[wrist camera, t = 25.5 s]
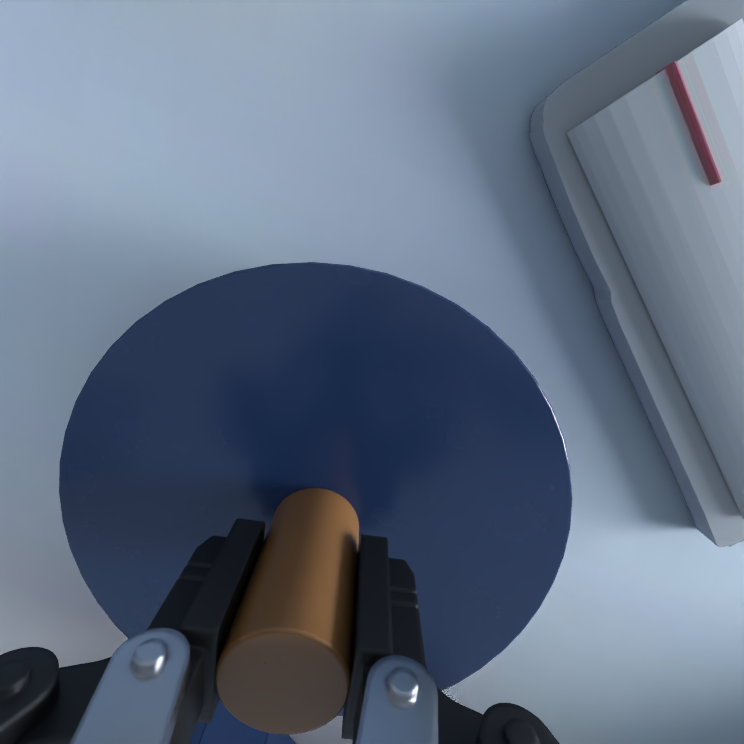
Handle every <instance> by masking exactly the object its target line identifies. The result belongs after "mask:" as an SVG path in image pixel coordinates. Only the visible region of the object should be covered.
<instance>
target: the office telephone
mask: <svg viewBox="0 0 744 744" xmlns="http://www.w3.org/2000/svg"><path fill="white" fill-rule="evenodd" d="M530 131H531V133H530V139H531V144H532V147H533V149H534V152H535V154H536V157H537V159H538V162H539V164H540V167H541V169H542V172H543V175H544V177H545V180H546V182H547V185H548V187H549V190H550V192H551V195H552V197H553V200H554V202H555V205H556V207H557V210H558V212H559V214H560V217H561V219H562V221H563V224H564V226H565V228H566V230H567V233H568V235H569V237H570V240H571V242H572V244H573V247H574V249H575V251H576V253H577V256H578V258H579V260H580V261H581V263H582V265H583V267H584V269H585V271H586V273H587V275H588V277H589V279H590V281H591V283H592V285H593V287H594V288H595V300H596V303H597V305H598V307H599V310H600V312H601V315H602V317H603V320H604V322H605V325H606V327H607V329H608V331H609V333H610V336H611V338H612V340H613V342H614V344H615V347H616V349H617V351H618V353H619V355H620V358H621V360H622V362H623V364H624V366H625V368H626V371H627V373H628V375H629V377H630V379H631V382H632V384H633V386H634V388H635V390H636V393H637V395H638V397H639V399H640V401H641V404H642V406H643V408H644V410H645V412H646V414H647V417H648V419H649V421H650V423H651V425H652V428H653V430H654V432H655V434H656V436H657V439H658V441H659V443H660V445H661V447H662V450H663V452H664V454H665V456H666V458H667V460H668V463H669V465H670V467H671V469H672V471H673V474H674V476H675V478H676V480H677V482H678V485H679V487H680V489H681V491H682V493H683V496H684V498H685V500H686V502H687V505H688V507H689V510H690V512H691V515H692V517H693V520H694V522H695V525H696V527H697V529H698V530H699V531H700V532H701V533H703V534H704V535H705V536H706V537H707V538H708V539H710V540H711V541H712V542H713V543H714V544H715V545H717V546H718V547H724V546H732V545H734V544H736V543H738V542H741V541H743V540H744V0H687V1H686V2H684V3H682V4H681V5H679V6H678V7H676V8H674V9H673V10H671V11H669V12H668V13H666V14H665V15H663V16H662V17H660V18H659V19H657V20H656V21H654V22H653V23H651V24H650V25H648V26H647V27H645V28H644V29H642V30H641V31H639V32H638V33H636V34H635V35H633V36H632V37H630V38H629V39H627V40H626V41H624V42H623V43H621V44H620V45H618V46H617V47H615V48H614V49H612V50H611V51H609V52H608V53H606V54H605V55H603V56H602V57H600V58H599V59H597V60H596V61H594V62H593V63H591V64H590V65H588V66H587V67H585V68H584V69H582V70H581V71H579V72H578V73H576V74H575V75H573V76H572V77H570V78H569V79H567V80H566V81H564V82H563V83H562V84H561V85H560V86H559V87H558V88H556V89H555V90H554V91H553V92H552V93H551V94H550V95H548V96H547V97H546V98H545V99H544V100H543V101H542V102H541V103H539V104H538V105H537V106H536V108H535V110H534V111H533V113H532V115H531V121H530Z"/></svg>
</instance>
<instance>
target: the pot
mask: <svg viewBox="0 0 744 744" xmlns="http://www.w3.org/2000/svg"><path fill="white" fill-rule="evenodd" d="M189 744H295V742H294V741H293V740H292V739H291V738H290V737H289V735H288V734H286V735H285V734H274V733H268V732H264V731H260V730H257V729H255V728H252V727H250V726H248V725H246V724H244V723H243V722H241V721H239V720H238V719H237V718H235V717H234V716H233V715H232V714H231V713H230V712H229V711H228V710H227V709H226V708H225V706H224V705H223V704H222V702H221V700H219V703H218V705H217V708H216V711H215V714H214V717H213V720H212V723H203V722H197V723H196V726H195V729H194V731H193V734H192V737H191V739H190V742H189Z"/></svg>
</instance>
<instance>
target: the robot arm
mask: <svg viewBox="0 0 744 744" xmlns="http://www.w3.org/2000/svg"><path fill="white" fill-rule="evenodd" d="M264 535H265V522H263V521H255V520H247V519H240V518H237V519H236V521H235V522H234V524H233V526H232V528H231V530H230V532H229V534H228V536H227V537H221V536H211V537H210V538H209V539H207V540H206V541H205V542H203V543H202V544H201V545H199V546H198V547H197V548H196V550H195V551H194V553H193V555H192V556H191V558H190V560H189V561H188V564H187V566H185V568H184V570H183V571H182V573H181V574H180V577H179V579H177V581H176V583H175V584H174V586H173V588H172V589H171V591H170V593H169V594H168V596H167V597H166V599H165V601H164V602H163V604H162V606H161V607H160V609H159V611H158V612H157V614H156V616H155V617H154V619H153V620H152V622H151V624H150V625H149V627H148V629H147V630H146V631H143V632H140V633H138V634H136V635H134V636H133V637H131V638H129V639H128V640H127V641H125V642H124V643H123V644H122V645H121V646H120V647H119V648H118V649H117V650H116V651H115V653H114V654H113V656H112V657H110V658H107V659H104V660H100V661H96V662H90V663H85V664H79V665H73V666H68V667H62V668H59V665H58V659H57V657H56V655H55V654H54V653H53V652H51V651H50V650H48V649H45V648H40V647H26V648H20V649H16V650H12V651H10V652H7V653H4V654H2V655H0V744H189V742H190V739H191V737H192V734H193V731H194V729H195V726H196V723H197V722H203V723H212V720H213V717H214V714H215V711H216V708H217V705H218V703H219V700H220V698H219V696H218V693H217V691H216V685H215V673H216V666H217V662H218V659H219V656H220V654H221V651H222V648H223V646H224V643H225V641H226V638H227V636H228V633H229V630H230V628H231V625H232V623H233V620H234V617H235V615H236V612H237V610H238V607H239V604H240V602H241V599H242V597H243V594H244V592H245V589H246V586H247V584H248V581H249V579H250V576H251V573H252V571H253V568H254V566H255V563H256V560H257V558H258V555H259V553H260V550H261V547H262V545H263V542H264ZM342 738H344V739H353V744H559V742H558V741H557V740H556V738H555V737H554V736H553V734H552V733H551V732H550V731H549V729H548V728H547V727H546V726H545V725H544V723H543V722H542V721H541V720H540V719H539V718H538V717H536V716H535V715H534V714H532V713H531V712H530V711H528V710H526V709H525V708H523V707H520V706H518V705H515V704H511V703H498V704H495V705H493V706H491V707H489V708H488V709H487V710H486V712H485V713H484V715H482V714H480V713H478V712H476V711H474V710H472V709H469V708H467V707H465V706H463V705H461V704H459V703H457V702H455V701H453V700H452V699H450V698H449V697H447V696H446V695H445V694H444V693H443V692H442V691H441V690H440V689H439V688H438V687H437V686H436V684H435V682H434V679H433V678H432V676H431V674H430V673H429V672H428V670H427V666H426V662H425V654H424V646H423V638H422V630H421V623H420V615H419V609H418V599H417V594H416V584H415V576H414V573H413V572H412V570H411V569H410V567H409V566H408V564H407V562H406V561H405V560H402V559H394V558H389V555H388V539H387V537H379V536H371V535H364V534H361V537H360V542H359V548H358V556H357V575H356V593H355V612H354V630H353V649H352V667H351V682H350V689H349V695H348V699H347V701H346V703H345V705H344V709H343V724H342Z"/></svg>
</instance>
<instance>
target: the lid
mask: <svg viewBox="0 0 744 744" xmlns="http://www.w3.org/2000/svg"><path fill="white" fill-rule="evenodd" d="M59 495H60V503H61V511H62V519H63V524H64V527H65V531H66V535H67V538H68V542H69V546H70V549H71V552H72V554H73V556H74V559H75V561H76V563H77V566H78V568H79V570H80V573H81V575H82V577H83V579H84V581H85V582H86V584H87V586H88V587H89V589H90V591H91V592H92V594H93V596H94V597H95V599H96V601H97V602H98V604H99V605H100V606H101V607H102V609H103V610H104V611H105V613H106V614H107V615H108V616H109V618H110V619H111V620H112V622H113V623H114V624H115V625H116V626H117V627H118V628H119V629H120V630H121V631H122V632H123V633H124V634H125V635H126V636H127V637H128V638H131V637H133V636H134V635H136V634H138V633H140V632H143V631H146V630H147V629H148V627H149V625H150V624H151V622H152V620H153V619H154V617H155V616H156V614H157V612H158V611H159V609H160V607H161V606H162V604H163V602H164V601H165V599H166V597H167V596H168V594H169V593H170V591H171V589H172V588H173V586H174V584H175V583H176V581H177V579H179V577H180V574H181V573H182V571H183V570H184V568H185V566H187V564H188V561H189V560H190V558H191V556H192V555H193V553H194V551H195V550H196V548H197V547H198V546H199V545H201V544H202V543H203V542H205V541H206V540H207V539H209V538H210V537H211V536H221V537H227V536H228V534H229V532H230V530H231V528H232V526H233V524H234V522H235V521H236V519H237V518H240V519H247V520H255V521H263V522H265V535H264V542H263V545H262V547H261V550H260V553H259V555H258V558H257V560H256V563H255V566H254V568H253V571H252V573H251V576H250V579H249V581H248V584H247V586H246V589H245V592H244V594H243V597H242V599H241V602H240V604H239V607H238V610H237V612H236V615H235V617H234V620H233V623H232V625H231V628H230V630H229V633H228V636H227V638H226V641H225V643H224V646H223V648H222V651H221V654H220V656H219V659H218V662H217V666H216V673H215V685H216V691H217V693H218V696H219V698H220V700H221V702H222V704H223V705H224V706H225V708H226V709H227V710H228V711H229V712H230V713H231V714H232V715H233V716H234V717H235V718H237V719H238V720H239V721H241V722H243V723H244V724H246V725H248V726H250V727H252V728H255V729H257V730H260V731H264V732H268V733H274V734H285V735H286V734H299V733H304V732H308V731H312V730H314V729H317V728H319V727H321V726H323V725H325V724H327V723H328V722H330V721H331V720H332V719H333V718H334V717H336V716H343V709H344V705H345V703H346V701H347V699H348V695H349V689H350V682H351V667H352V649H353V630H354V612H355V593H356V575H357V556H358V548H359V542H360V537H361V534H364V535H371V536H379V537H387V539H388V555H389V558H394V559H402V560H405V561H406V562H407V564H408V566H409V567H410V569H411V570H412V572H413V573H414V576H415V584H416V594H417V599H418V609H419V615H420V623H421V630H422V638H423V646H424V654H425V662H426V666H427V670H428V672H429V673H430V674H431V676H432V678H433V679H434V682H435V684H436V686H437V687H438V688H439V689H440V690H441V691H442V690H444V689H446V688H448V687H450V686H453V685H455V684H457V683H458V682H460V681H462V680H463V679H465V678H466V677H468V676H470V675H471V674H473V673H474V672H476V671H477V670H479V669H481V668H482V667H483V666H485V665H486V664H487V663H488V662H489V661H491V660H492V659H493V658H494V657H496V656H497V655H498V654H499V653H501V652H502V651H503V650H504V649H505V648H506V647H507V646H508V645H509V644H510V643H511V642H512V641H513V640H514V639H515V638H516V637H517V636H518V635H519V634H520V632H521V631H522V630H523V629H524V628H525V626H526V625H527V624H528V622H529V621H530V620H531V618H532V617H533V616H534V614H535V613H536V612H537V610H538V609H539V608H540V606H541V604H542V602H543V600H544V599H545V597H546V595H547V593H548V591H549V590H550V588H551V586H552V584H553V582H554V580H555V577H556V574H557V572H558V569H559V567H560V564H561V562H562V559H563V556H564V552H565V548H566V543H567V539H568V534H569V530H570V521H571V508H572V488H571V474H570V465H569V461H568V456H567V452H566V448H565V443H564V439H563V436H562V433H561V430H560V428H559V425H558V423H557V420H556V418H555V415H554V412H553V410H552V407H551V406H550V404H549V402H548V400H547V399H546V397H545V395H544V393H543V392H542V390H541V388H540V386H539V385H538V383H537V381H536V379H535V378H534V377H533V375H532V374H531V373H530V371H529V370H528V369H527V368H526V366H525V365H524V364H523V363H522V361H521V360H520V359H519V357H518V356H517V355H516V354H515V352H514V351H513V350H512V349H511V348H510V347H509V346H508V345H507V344H506V343H505V342H504V341H502V340H501V339H500V338H499V337H498V336H497V335H496V334H495V333H494V332H493V331H492V330H491V329H490V328H489V327H488V326H486V325H485V324H484V323H482V322H481V321H479V320H478V319H477V318H475V317H474V316H473V315H471V314H470V313H468V312H467V311H466V310H464V309H463V308H461V307H460V306H459V305H457V304H455V303H453V302H452V301H450V300H448V299H446V298H444V297H442V296H440V295H438V294H436V293H434V292H433V291H431V290H429V289H427V288H425V287H423V286H421V285H418V284H415V283H412V282H410V281H407V280H404V279H401V278H399V277H396V276H393V275H390V274H388V273H383V272H379V271H374V270H370V269H365V268H360V267H356V266H351V265H341V264H328V263H316V262H307V263H289V264H271V265H266V266H261V267H256V268H251V269H245V270H240V271H235V272H232V273H229V274H226V275H223V276H220V277H217V278H214V279H211V280H208V281H205V282H202V283H200V284H197V285H195V286H193V287H191V288H189V289H187V290H185V291H183V292H181V293H180V294H178V295H176V296H174V297H172V298H170V299H168V300H166V301H164V302H163V303H161V304H160V305H159V306H157V307H156V308H154V309H153V310H152V311H150V312H149V313H147V314H146V315H145V316H143V317H142V318H140V319H139V320H138V321H136V322H135V323H134V324H133V325H132V326H131V327H130V328H129V329H128V330H127V331H126V332H125V333H124V334H123V335H122V336H121V337H120V338H119V339H118V340H117V341H116V342H115V343H114V344H113V345H112V346H111V347H110V348H109V349H108V351H107V352H106V353H105V355H104V356H103V357H102V359H101V360H100V361H99V363H98V364H97V365H96V367H95V368H94V369H93V371H92V372H91V374H90V376H89V378H88V379H87V381H86V383H85V385H84V387H83V389H82V391H81V393H80V394H79V396H78V398H77V400H76V402H75V405H74V408H73V411H72V414H71V416H70V419H69V422H68V425H67V428H66V431H65V436H64V441H63V447H62V453H61V458H60V477H59Z"/></svg>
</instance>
